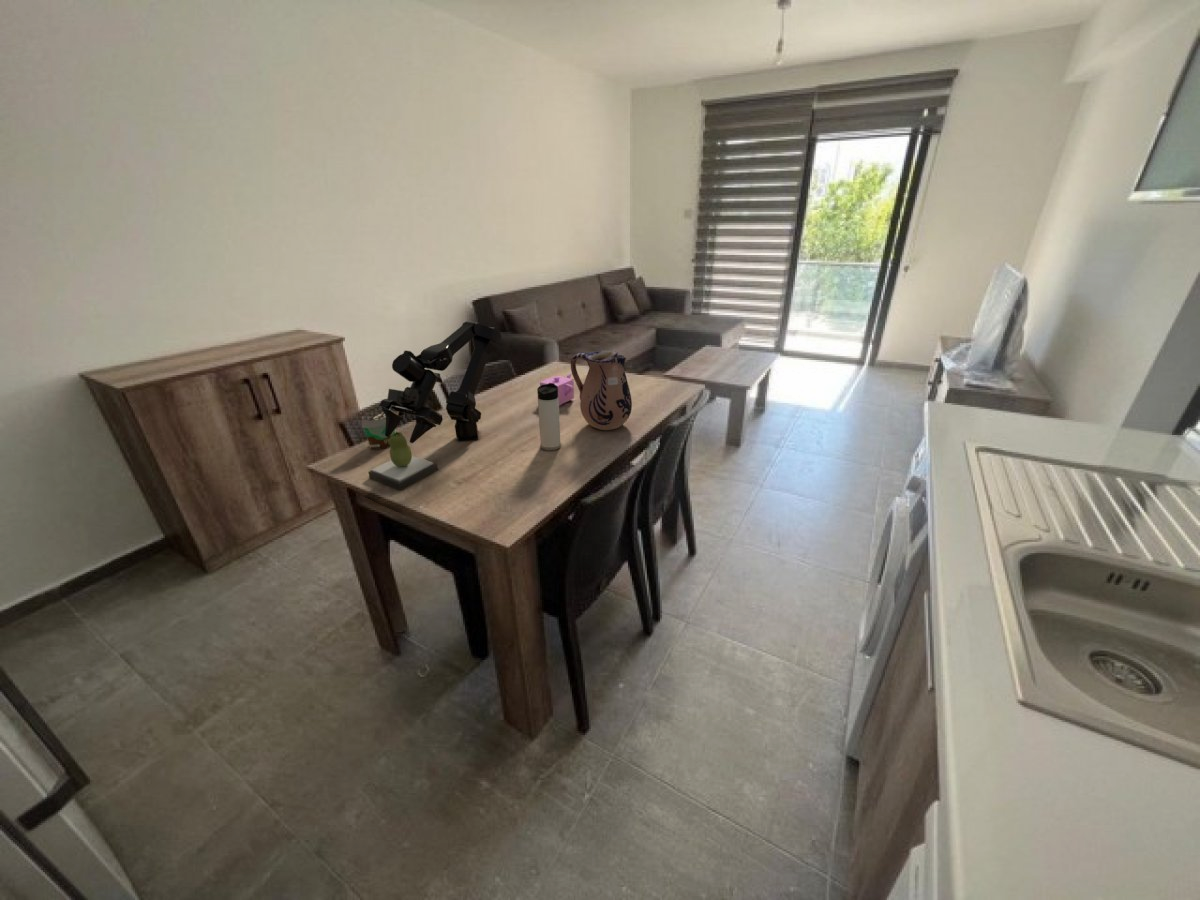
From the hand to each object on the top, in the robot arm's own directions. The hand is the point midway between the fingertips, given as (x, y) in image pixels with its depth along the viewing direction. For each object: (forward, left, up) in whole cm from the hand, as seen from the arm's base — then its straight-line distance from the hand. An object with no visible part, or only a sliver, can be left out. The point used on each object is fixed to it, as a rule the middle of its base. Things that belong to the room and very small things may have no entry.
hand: (398, 439), depth 132 cm
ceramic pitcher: (-62, -22, -11) cm, 66 cm away
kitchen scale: (0, 0, -11) cm, 11 cm away
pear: (0, 0, -8) cm, 8 cm away
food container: (+8, -22, -11) cm, 26 cm away
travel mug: (-43, -9, -11) cm, 45 cm away
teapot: (-51, -48, -11) cm, 70 cm away
